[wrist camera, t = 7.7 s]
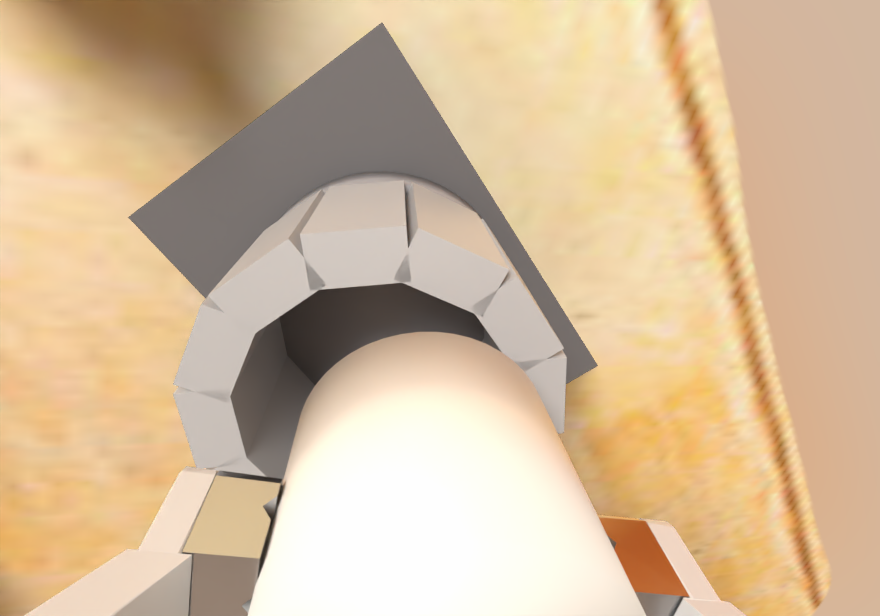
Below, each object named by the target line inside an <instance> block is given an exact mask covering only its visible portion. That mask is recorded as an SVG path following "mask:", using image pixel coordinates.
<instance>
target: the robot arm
mask: <svg viewBox="0 0 880 616" xmlns="http://www.w3.org/2000/svg"><path fill="white" fill-rule="evenodd" d="M282 485H283V479H280V478H272V477H265V476H258V475H250V474H243V473H236V472H229V471H221V470H220V471H216V470H209V469H202V468H195V467H187V466H186V467H185V468H184V469H183V470H182V471H181V472H180V473H179V475H178V476H177V478H176V480H175V482H174V484H173V486H172V488H171V489H170V491H169V493H168V495H167V497H166V499H165V501H164V502H163V504H162V506H161V508H160V510H159V512H158V513H157V515H156V517H155V519H154V521H153V523H152V525H151V526H150V528H149V530H148V532H147V534H146V536H145V538H144V539H143V541H142V543H141V545H140V547H139V549H138V550H135V549H126V550H124V551H123V552H121V553H120V554H118V555H117V556H115V557H114V558H112V559H110V560H109V561H107V562H106V563H104V564H103V565H101V566H100V567H98V568H97V569H95V570H93V571H92V572H90V573H89V574H87V575H86V576H84V577H83V578H81V579H80V580H78V581H76V582H75V583H73V584H72V585H70V586H69V587H67V588H66V589H64V590H63V591H61V592H59V593H58V594H56V595H55V596H53V597H52V598H50V599H49V600H47V601H46V602H44V603H42V604H41V605H39V606H38V607H36V608H35V609H33V610H32V611H30V612H29V613H27V614H25V615H24V616H248V612H249V608H250V604H251V600H252V597H253V593H254V589H255V585H256V583H257V580H258V576H259V573H260V569H261V565H262V562H263V558H264V554H265V550H266V547H267V543H268V538H269V532H270V528H271V525H272V521H273V519H274V516H275V513H276V509H277V505H278V501H279V497H280V493H281V489H282ZM597 515H598V517H599V519H600V521H601V523H602V526H603V528H604V530H605V532H606V534H607V536H608V538H609V540H610V542H611V544H612V546H613V548H614V550H615V552H616V554H617V556H618V558H619V561H620V563H621V565H622V567H623V569H624V571H625V573H626V575H627V577H628V579H629V581H630V583H631V585H632V587H633V589H634V591H635V593H636V595H637V598H638V600H639V602H640V604H641V606H642V608H643V610H644V612H645V614H646V616H746V615H745V614H744V613H743V612H741V611H740V610H739V609H738V608H736V607H735V606H734V605H732V604H731V603H730V602H725V601H721V600H720V599H719V597H718V596H717V594H716V593H715V591H714V589H713V588H712V586H711V585H710V583H709V582H708V580H707V578H706V577H705V575H704V574H703V572H702V571H701V569H700V567H699V566H698V564H697V563H696V561H695V560H694V558H693V556H692V555H691V553H690V552H689V550H688V549H687V547H686V545H685V544H684V542H683V541H682V539H681V538H680V536H679V534H678V533H677V531H676V530H675V528H674V527H673V526H672V525H671V524H670V523H668V522H667V521H662V520H652V519H641V518H640V519H636V518H627V517H618V516H608V515H599V514H597Z"/></svg>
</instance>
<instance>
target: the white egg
mask: <svg viewBox="0 0 880 616" xmlns="http://www.w3.org/2000/svg"><path fill="white" fill-rule="evenodd" d="M248 616H646V614H645V612H644V610H643V608H642V606H641V604H640V602H639V600H638V598H637V595H636V593H635V591H634V589H633V587H632V585H631V583H630V581H629V579H628V577H627V575H626V573H625V571H624V569H623V567H622V565H621V563H620V561H619V558H618V556H617V554H616V552H615V550H614V548H613V546H612V544H611V542H610V540H609V538H608V536H607V534H606V532H605V530H604V528H603V526H602V523H601V521H600V519H599V517H598V515H597V513H596V511H595V509H594V507H593V505H592V503H591V501H590V499H589V497H588V495H587V493H586V491H585V489H584V486H583V484H582V482H581V480H580V478H579V476H578V474H577V472H576V470H575V468H574V466H573V464H572V462H571V460H570V458H569V456H568V454H567V451H566V449H565V447H564V445H563V443H562V441H561V439H560V437H559V435H558V433H557V431H556V429H555V427H554V425H553V423H552V421H551V419H550V417H549V414H548V412H547V410H546V408H545V406H544V404H543V402H542V400H541V398H540V396H539V394H538V392H537V390H536V388H535V387H534V385H533V383H532V381H531V380H530V379H529V377H528V376H527V375H526V373H525V372H524V371H523V370H522V369H521V368H520V367H519V366H518V365H517V364H516V363H515V362H514V361H513V360H511V359H510V358H509V357H507V356H506V355H505V354H503V353H502V352H501V351H499V350H497V349H495V348H493V347H491V346H489V345H488V344H485V343H483V342H480V341H478V340H475V339H472V338H469V337H465V336H461V335H457V334H451V333H443V332H414V333H405V334H399V335H395V336H391V337H387V338H383V339H380V340H378V341H375V342H372V343H370V344H367V345H365V346H363V347H361V348H359V349H357V350H355V351H354V352H352V353H350V354H349V355H347V356H346V357H344V358H343V359H341V360H340V361H339V362H337V363H336V364H335V365H334V366H333V367H332V368H331V369H329V370H328V371H327V372H326V373H325V374H324V375H323V377H322V378H321V379H320V380H319V381H318V383H317V384H316V385H315V386H314V388H313V390H312V391H311V393H310V395H309V396H308V398H307V400H306V402H305V404H304V407H303V409H302V412H301V415H300V418H299V422H298V426H297V430H296V434H295V437H294V441H293V445H292V449H291V453H290V456H289V460H288V464H287V468H286V472H285V475H284V479H283V485H282V489H281V493H280V497H279V501H278V505H277V509H276V513H275V516H274V519H273V521H272V525H271V528H270V532H269V538H268V543H267V547H266V550H265V554H264V558H263V562H262V565H261V569H260V573H259V576H258V580H257V583H256V585H255V589H254V593H253V597H252V600H251V604H250V608H249V612H248Z"/></svg>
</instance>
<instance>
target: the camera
mask: <svg viewBox="0 0 880 616" xmlns="http://www.w3.org/2000/svg"><path fill="white" fill-rule="evenodd" d="M128 218H129V219H130V220H131V221H132V222H133V223H134V224H135V225H136V226H137V227H138V228H139V229H140V230H141V231H142V232H143V233H144V234H145V235H146V236H147V238H148V239H149V240H150V241H151V242H152V243H153V244H154V245H155V246H156V247H157V248H158V249H159V250H160V251H161V252H162V253H163V254H164V255H165V256H166V257H167V259H168V260H169V261H170V262H171V263H172V264H173V265H174V266H175V267H176V268H177V269H178V270H179V271H180V272H181V273H182V274H183V275H184V276H185V277H186V278H187V279H188V281H189V282H190V283H191V284H192V285H193V286H194V287H195V288H196V289H197V290H198V291H199V292H200V293H201V294H202V295H203V296H204V297H205V298H206V299H205V300H204V301H203V303H202V304H201V306H200V309H199V312H198V315H197V318H196V320H195V323H194V326H193V329H192V332H191V335H190V338H189V340H188V343H187V346H186V349H185V352H184V355H183V358H182V360H181V363H180V366H179V369H178V372H177V375H176V378H175V380H174V383H173V385H176V386H178V388H177V389H176V391H175V392H174V393H173V395H174V399H175V402H176V405H177V408H178V411H179V414H180V417H181V421H182V424H183V427H184V430H185V433H186V436H187V439H188V443H189V446H190V449H191V452H192V455H193V458H194V461H195V465H196V468H202V469H204V468H206V469H209V470H216V471H220V470H221V471H229V472H236V473H243V474H250V475H258V476H265V477H272V478H280V479H284V475H285V472H286V468H287V464H288V460H289V456H290V453H291V449H292V445H293V441H294V437H295V434H296V430H297V426H298V422H299V418H300V415H301V412H302V409H303V407H304V404H305V402H306V400H307V398H308V396H309V395H310V393H311V391H312V390H313V388H314V386H315V385H316V384H317V383H318V381H319V380H320V379H321V378H322V377H323V375H324V374H325V373H326V372H327V371H328V370H329V369H331V368H332V367H333V366H334V365H335V364H336V363H337V362H339V361H340V360H341V359H343V358H344V357H346V356H347V355H349V354H350V353H352V352H354V351H355V350H357V349H359V348H361V347H363V346H365V345H367V344H370V343H372V342H375V341H378V340H380V339H383V338H387V337H391V336H395V335H399V334H405V333H414V332H443V333H451V334H457V335H461V336H465V337H469V338H472V339H475V340H478V341H480V342H483V343H485V344H488V345H489V346H491V347H493V348H495V349H497V350H499V351H501V352H502V353H503V354H505V355H506V356H507V357H509V358H510V359H511V360H513V361H514V362H515V363H516V364H517V365H518V366H519V367H520V368H521V369H522V370H523V371H524V372H525V373H526V375H527V376H528V377H529V379H530V380H531V381H532V383H533V385H534V387H535V388H536V390H537V392H538V394H539V396H540V398H541V400H542V402H543V404H544V406H545V408H546V410H547V412H548V414H549V417H550V419H551V421H552V423H553V425H554V427H555V429H556V431H557V433H558V434H559V433H564V418H565V391H566V384H567V383H569V382H571V381H572V380H574V379H576V378H578V377H579V376H581V375H583V374H584V373H586V372H588V371H590V370H591V369H593V368H595V367H596V366H598V365H597V364H596V362H595V360H594V359H593V357H592V356H591V354H590V352H589V351H588V349H587V348H586V346H585V344H584V343H583V341H582V340H581V338H580V337H579V335H578V333H577V332H576V330H575V329H574V327H573V325H572V324H571V322H570V321H569V319H568V317H567V316H566V314H565V313H564V311H563V309H562V308H561V306H560V305H559V303H558V301H557V300H556V298H555V297H554V295H553V294H552V292H551V290H550V289H549V287H548V286H547V284H546V282H545V281H544V279H543V278H542V276H541V274H540V273H539V271H538V270H537V268H536V266H535V265H534V263H533V262H532V260H531V258H530V257H529V255H528V254H527V252H526V251H525V249H524V247H523V246H522V244H521V243H520V241H519V239H518V238H517V236H516V235H515V233H514V231H513V230H512V228H511V227H510V225H509V223H508V222H507V220H506V219H505V217H504V215H503V214H502V212H501V211H500V209H499V208H498V206H497V204H496V203H495V201H494V200H493V198H492V196H491V195H490V193H489V192H488V190H487V188H486V187H485V185H484V184H483V182H482V180H481V179H480V177H479V176H478V174H477V172H476V171H475V169H474V168H473V166H472V165H471V163H470V161H469V160H468V158H467V157H466V155H465V153H464V152H463V150H462V149H461V147H460V145H459V144H458V142H457V141H456V139H455V137H454V136H453V134H452V133H451V131H450V129H449V128H448V126H447V125H446V123H445V122H444V120H443V118H442V117H441V115H440V114H439V112H438V110H437V109H436V107H435V106H434V104H433V102H432V101H431V99H430V98H429V96H428V94H427V93H426V91H425V90H424V88H423V86H422V85H421V83H420V82H419V80H418V79H417V77H416V75H415V74H414V72H413V71H412V69H411V67H410V66H409V64H408V63H407V61H406V59H405V58H404V56H403V55H402V53H401V51H400V50H399V48H398V47H397V45H396V44H395V42H394V40H393V39H392V37H391V36H390V34H389V32H388V31H387V29H386V28H385V26H384V24H383V23H381V24H379V25H378V26H377V27H375V28H374V29H373V30H372V31H370V32H369V33H368V34H366V35H365V36H364V37H362V38H361V39H360V40H359V41H357V42H356V43H355V44H353V45H352V46H351V47H349V48H348V49H347V50H345V51H344V52H343V53H342V54H340V55H339V56H338V57H336V58H335V59H334V60H332V61H331V62H330V63H329V64H327V65H326V66H325V67H323V68H322V69H321V70H319V71H318V72H317V73H316V74H314V75H313V76H312V77H310V78H309V79H308V80H306V81H305V82H304V83H303V84H301V85H300V86H299V87H297V88H296V89H295V90H293V91H292V92H291V93H289V94H288V95H287V96H286V97H284V98H283V99H282V100H280V101H279V102H278V103H276V104H275V105H274V106H273V107H271V108H270V109H269V110H267V111H266V112H265V113H263V114H262V115H261V116H260V117H258V118H257V119H256V120H254V121H253V122H252V123H250V124H249V125H248V126H247V127H245V128H244V129H243V130H241V131H240V132H239V133H237V134H236V135H235V136H233V137H232V138H231V139H230V140H228V141H227V142H226V143H224V144H223V145H222V146H220V147H219V148H218V149H217V150H215V151H214V152H213V153H211V154H210V155H209V156H207V157H206V158H205V159H204V160H202V161H201V162H200V163H198V164H197V165H196V166H194V167H193V168H192V169H191V170H189V171H188V172H187V173H185V174H184V175H183V176H181V177H180V178H179V179H178V180H176V181H175V182H174V183H172V184H171V185H170V186H168V187H167V188H166V189H164V190H163V191H162V192H161V193H159V194H158V195H157V196H155V197H154V198H153V199H151V200H150V201H149V202H148V203H146V204H145V205H144V206H142V207H141V208H140V209H138V210H137V211H136V212H135V213H133V214H132V215H131V216H129V217H128Z"/></svg>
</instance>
